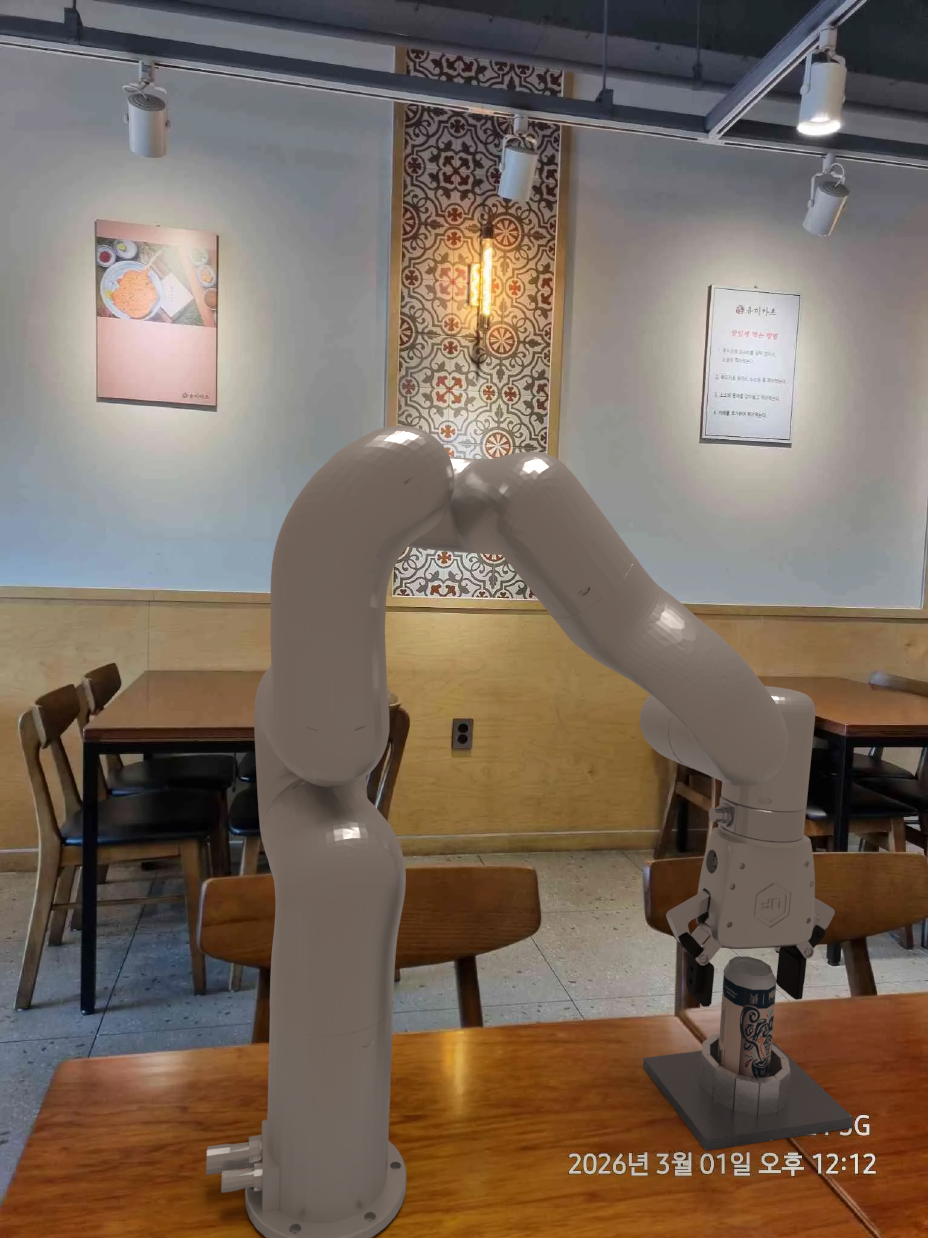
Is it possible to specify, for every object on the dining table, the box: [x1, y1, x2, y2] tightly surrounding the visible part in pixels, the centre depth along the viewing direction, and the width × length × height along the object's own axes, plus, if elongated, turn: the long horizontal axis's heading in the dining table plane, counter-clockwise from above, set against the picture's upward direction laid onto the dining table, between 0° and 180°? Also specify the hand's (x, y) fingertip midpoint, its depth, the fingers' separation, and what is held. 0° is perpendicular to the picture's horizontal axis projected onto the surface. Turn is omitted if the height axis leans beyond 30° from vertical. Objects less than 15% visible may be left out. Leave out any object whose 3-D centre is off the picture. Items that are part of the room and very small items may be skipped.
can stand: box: [642, 1033, 854, 1152], centre depth 80 cm, size 15×12×4 cm
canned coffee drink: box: [718, 956, 777, 1078], centre depth 80 cm, size 5×5×12 cm
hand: (744, 995), depth 79 cm, fingers open, 9 cm apart
